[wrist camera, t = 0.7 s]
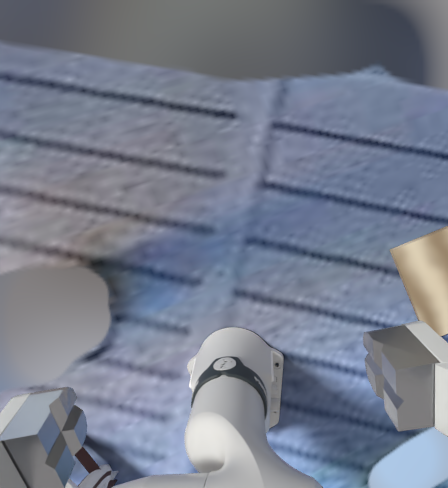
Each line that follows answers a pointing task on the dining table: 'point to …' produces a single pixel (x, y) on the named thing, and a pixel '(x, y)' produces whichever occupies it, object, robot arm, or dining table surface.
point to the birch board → (426, 277)
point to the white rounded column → (93, 473)
